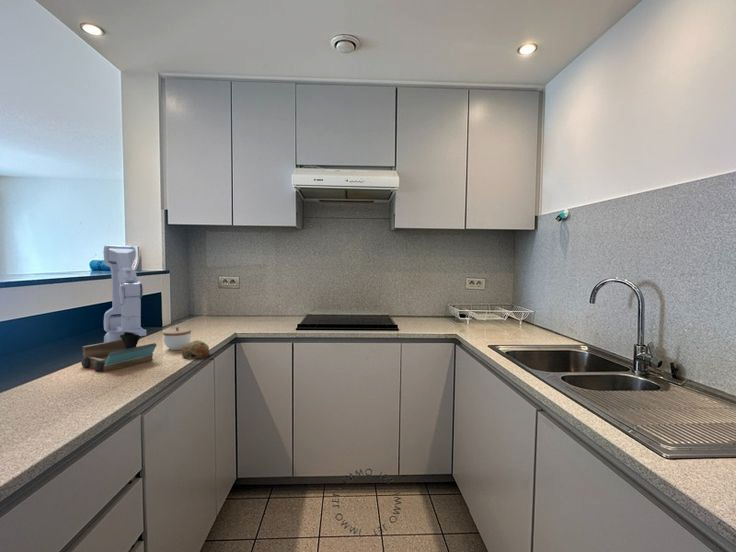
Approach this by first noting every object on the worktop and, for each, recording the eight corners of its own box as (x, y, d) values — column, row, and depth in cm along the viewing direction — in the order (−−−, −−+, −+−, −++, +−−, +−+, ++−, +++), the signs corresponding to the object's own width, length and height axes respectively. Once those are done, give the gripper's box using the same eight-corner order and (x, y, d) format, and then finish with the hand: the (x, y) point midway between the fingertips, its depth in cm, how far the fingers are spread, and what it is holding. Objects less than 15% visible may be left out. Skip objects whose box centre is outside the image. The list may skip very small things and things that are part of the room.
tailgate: (104, 363, 116) (109, 352, 115) (150, 352, 130) (155, 343, 129) (106, 365, 116) (110, 354, 115) (151, 354, 130) (156, 345, 129)
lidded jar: (192, 344, 155) (192, 324, 155) (189, 350, 145) (189, 328, 145) (165, 346, 152) (165, 325, 151) (160, 352, 141) (160, 330, 141)
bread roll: (180, 367, 133) (177, 351, 130) (186, 350, 142) (183, 335, 139) (207, 366, 136) (206, 350, 132) (211, 349, 145) (210, 334, 141)
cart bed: (79, 366, 121) (79, 347, 121) (132, 354, 137) (132, 337, 137) (101, 372, 115) (101, 352, 115) (154, 359, 131) (154, 341, 131)
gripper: (106, 315, 122) (107, 353, 122) (131, 319, 115) (131, 359, 116) (128, 313, 128) (128, 348, 129) (152, 316, 122) (152, 354, 122)
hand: (131, 353), depth 123 cm, fingers closed, pressing on tailgate
